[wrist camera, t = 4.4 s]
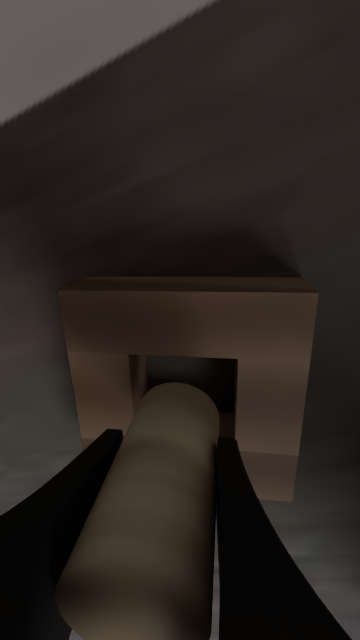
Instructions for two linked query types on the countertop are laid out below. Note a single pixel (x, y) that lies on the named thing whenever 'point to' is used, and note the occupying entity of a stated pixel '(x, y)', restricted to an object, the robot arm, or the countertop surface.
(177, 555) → the beech peg
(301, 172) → the countertop surface
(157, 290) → the walnut socket block
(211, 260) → the countertop surface
